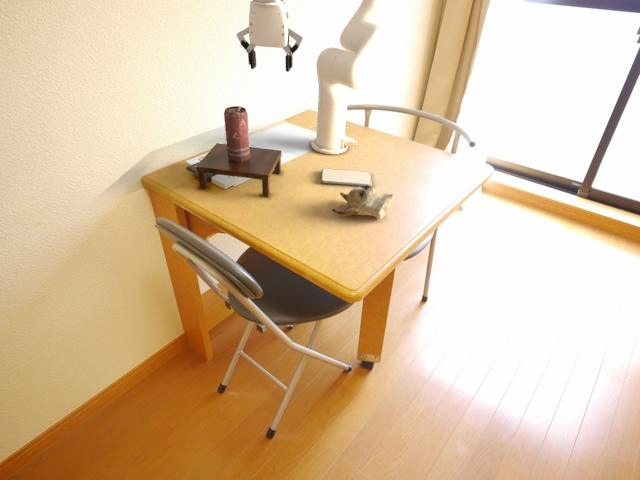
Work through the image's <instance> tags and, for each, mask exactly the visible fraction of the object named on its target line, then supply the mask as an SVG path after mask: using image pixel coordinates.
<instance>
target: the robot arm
mask: <svg viewBox="0 0 640 480" xmlns="http://www.w3.org/2000/svg"><path fill="white" fill-rule="evenodd" d="M249 3H250V4H249V13H248V27H246V28H244V29H242V30H241V31H239V32H237V33H236V37H237V40H238V41H239V43H240V46H242V48H243V49H244V50H245V52H246V53H247V56H248V65H249V66H250V69H251V70H254V69H255V68H256V67H257V55H256V50H255V48H256V47H265V48H278V49H279V48H280V49H281V48H282V50H283V51H284V53H286V55H285V72H287V73H289V72H290V70H291V69H293V65H294V64H293V54H294V53H295V52H296V51H297V50H298V49H299V48H300V46H301V43H302V41H303V40H304V38H303V36H302V35H300V34H298V33H297V32H295V31H294V30H292V29H291V26H290V14H289V8H288V3H287V2H284V0H251V1H250V2H249ZM386 17H387V2H386V0H362V1H361V2H360V5H359V7H358V8H357V10H356V11H355V13H354V14H353V15H352V17H351V18H350V20H349V21H348V22H347V24H346V26H344V28H343V30H342V32H341V33H340V37H339V44H340V46H341V47H342V48H343V49H341V48H338V47H327V48H325V49H323V50H322V51H321V52H320V53H319V54H318V57H317V60H316V75H317V82H318V84H317V85H318V97H317V116H316V117H317V118H316V138H314V139H313V140H311V148H312V149H313V150H314V151H315V152H318V153H321V154H325V155H338V154H342V153H344V152H347V150H348V149H349V148H348V147H349V146H350V147H357V144H358V143H357V142H358V140H355V138H354V137H348V136H347V134H346V132H345V130H346V123H347V122H346V120H347V112H348V111H347V110H348V101H349V94H348V89H352V90H358V89H360V88H362V87H363V86H364V85H365V84H366V83H367V82H368V81H369V79H370V78H371V77H372V75H373V74H374V72H375V71H376V70H377V68H378V67H379V65H380V64H381V63H382V61H383V60H384V58H385V57H386V55H387V54H388V51H389V49H390V45H391V34H390V31H389V29H388V28H387V27H386V26H385V25H383V22H384V21H385V19H386ZM246 35H248V39H249V42H248V41H247V40H246V38H245V36H246ZM291 38H292V39H293V40H294V41H295V42H294V45H293V46H291V44H290V42H291Z"/></svg>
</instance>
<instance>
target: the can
mask: <svg viewBox="0 0 640 480" xmlns="http://www.w3.org/2000/svg"><path fill="white" fill-rule="evenodd" d="M223 117H224V128H225V129H224V131H225V140H226V144H227V152H228V158H229V160H230V161H232V162H237V163H241V162H245V161H247V160H248V159H249V157H250V150H249V147H250V135H249V133H250V132H249V116H248V111H247V109H246V108H245V107H243V106H240V105H239V106H238V105H237V106H235V105H234V106H228V107H226V108H225V109H224V111H223Z"/></svg>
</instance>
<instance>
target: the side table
mask: <svg viewBox="0 0 640 480" xmlns="http://www.w3.org/2000/svg"><path fill="white" fill-rule="evenodd" d="M249 150H250V157H249V159H248V160H247V161H245V162H241V163H237V162H232V161H230V160H229V158H228V152H227V143H218V142H217V143H215V144H214V146H212V148H211V149H210V150H209V151H208V152H207V153H206V155H205V156H204V157H203V158H201V160H200V161H199V162H198V163H197V165H196V166H195V168H196V170H195V171H196V172H197V176H198V182H199V183H198V184H199V189H200V190H206V189H207V188H208V186H209V185H208V179H207V174H212V175H218V176H219V175H221V176H229V177H237V178H245V179H254V180H260V181H261V190H262V197H263V198H269V196H270V178H271V176H272V174H273V173H274V174H276V175H280V174H281V172H282V150H281V149H280V150H279V149H271V148H263V147H254V146H249Z"/></svg>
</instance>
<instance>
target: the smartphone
mask: <svg viewBox="0 0 640 480" xmlns="http://www.w3.org/2000/svg"><path fill="white" fill-rule="evenodd" d="M371 175H372V174H371V172H369V171H363V170H362V171H361V170H348V169H339V168H338V169H336V168H322V169H321V179H320V180H321V183H323V184H332V185H333V184H334V185H347V186H356V187H365V186H366V185H368V186H371V187H372V185H373V183H372V176H371Z"/></svg>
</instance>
